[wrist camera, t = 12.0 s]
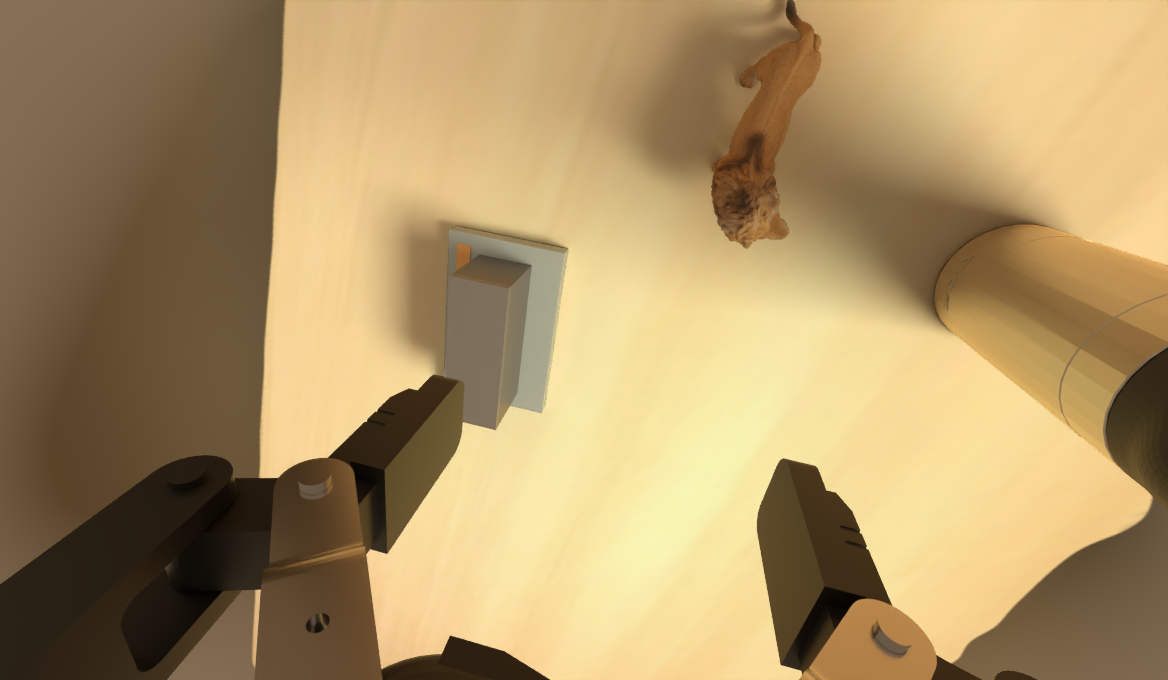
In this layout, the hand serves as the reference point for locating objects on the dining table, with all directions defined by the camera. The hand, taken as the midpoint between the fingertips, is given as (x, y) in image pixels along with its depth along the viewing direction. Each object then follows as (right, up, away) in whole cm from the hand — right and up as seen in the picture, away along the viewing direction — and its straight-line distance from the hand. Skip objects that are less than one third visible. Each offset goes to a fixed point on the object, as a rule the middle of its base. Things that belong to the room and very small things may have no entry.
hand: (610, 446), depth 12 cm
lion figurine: (+12, +18, +23) cm, 32 cm away
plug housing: (-8, +4, +32) cm, 33 cm away
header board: (-8, +4, +33) cm, 35 cm away
